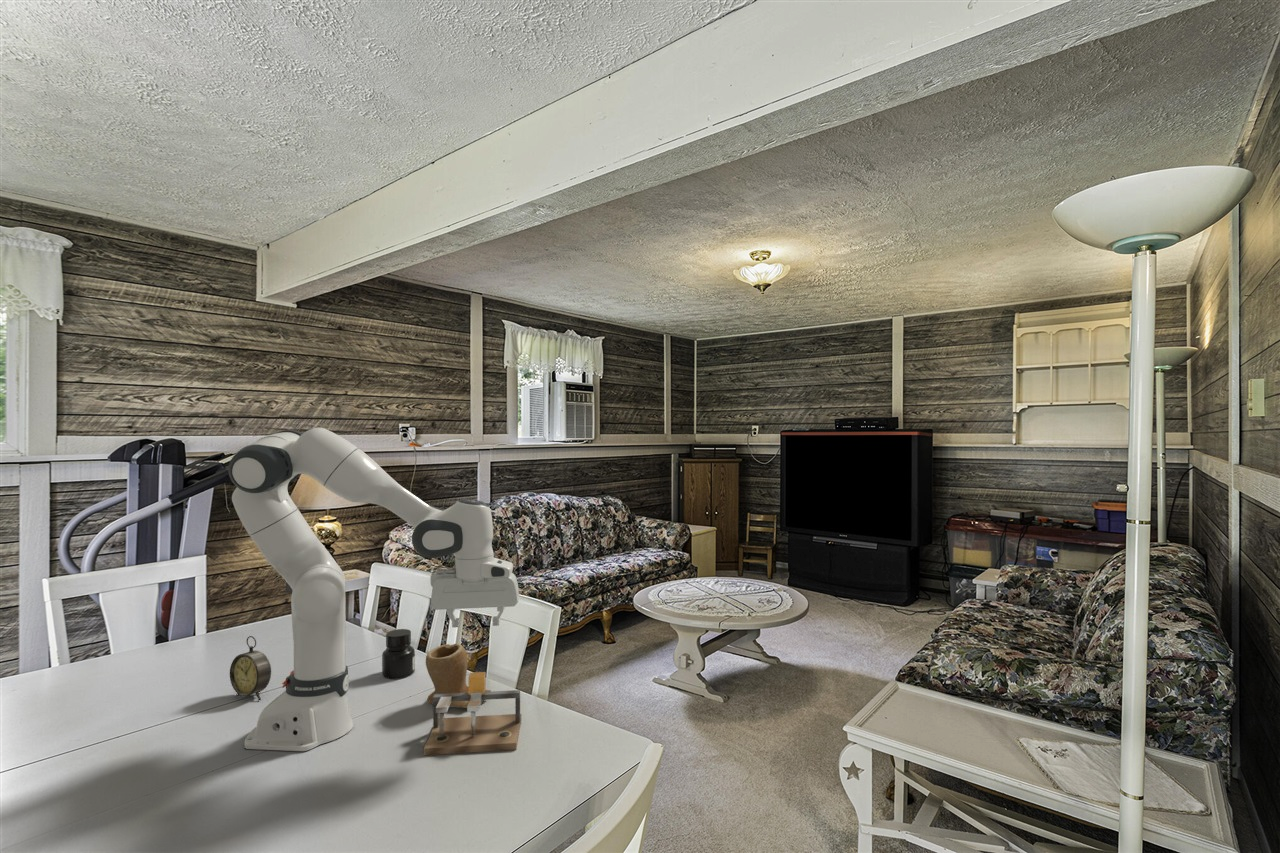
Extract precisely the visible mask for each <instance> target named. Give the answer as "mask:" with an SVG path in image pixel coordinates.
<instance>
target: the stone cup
mask: <svg viewBox="0 0 1280 853" xmlns="http://www.w3.org/2000/svg"><path fill="white" fill-rule="evenodd" d="M425 666H426V670H427V673H428V675H429V678H430V679H431V682H432V684H433V686H434V687H433V688H434V691H432V692H431V693H430V694H429V695H428V696H427V698H426V699H427V700H426V701H427V702H429V703H430V704H433V697H434V695H435V694H453V693H469V685H467V683H466V682H467V674H468V673H467V671H468V654H467V650H466V649H465V647H464V646H463V645H462V644H460V643H454V644H447V643H446V644H442V645H439V646H437V647H435V648H432V649H431V650H430V651H429V652H428V653H427V654H426V656H425ZM485 692H492V690H491V689H485ZM485 701H486V700H482V701H481V704H482V703H484V702H485ZM468 704H469V701H452V702H451V704H450V706H449V708H450V707H453V708H460V709H467V706H468Z"/></svg>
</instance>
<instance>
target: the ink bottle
mask: <svg viewBox="0 0 1280 853" xmlns="http://www.w3.org/2000/svg"><path fill="white" fill-rule="evenodd" d="M411 642H412V631H411V630H410V629H407V628H399V629H393V630H389V631H388V632H386V633H385V647H386V648H385V650H384V651H383V652H382V655H381V671H382V672H381V674H382V677H384V679H385V678H386V679H389V680H398V679H403V678H406V677H409V676H411V675H412V674H413V673H415V670H416V654H415V653H416V651H415V648H414V647H413V646H412V645H411V644H412V643H411Z"/></svg>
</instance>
